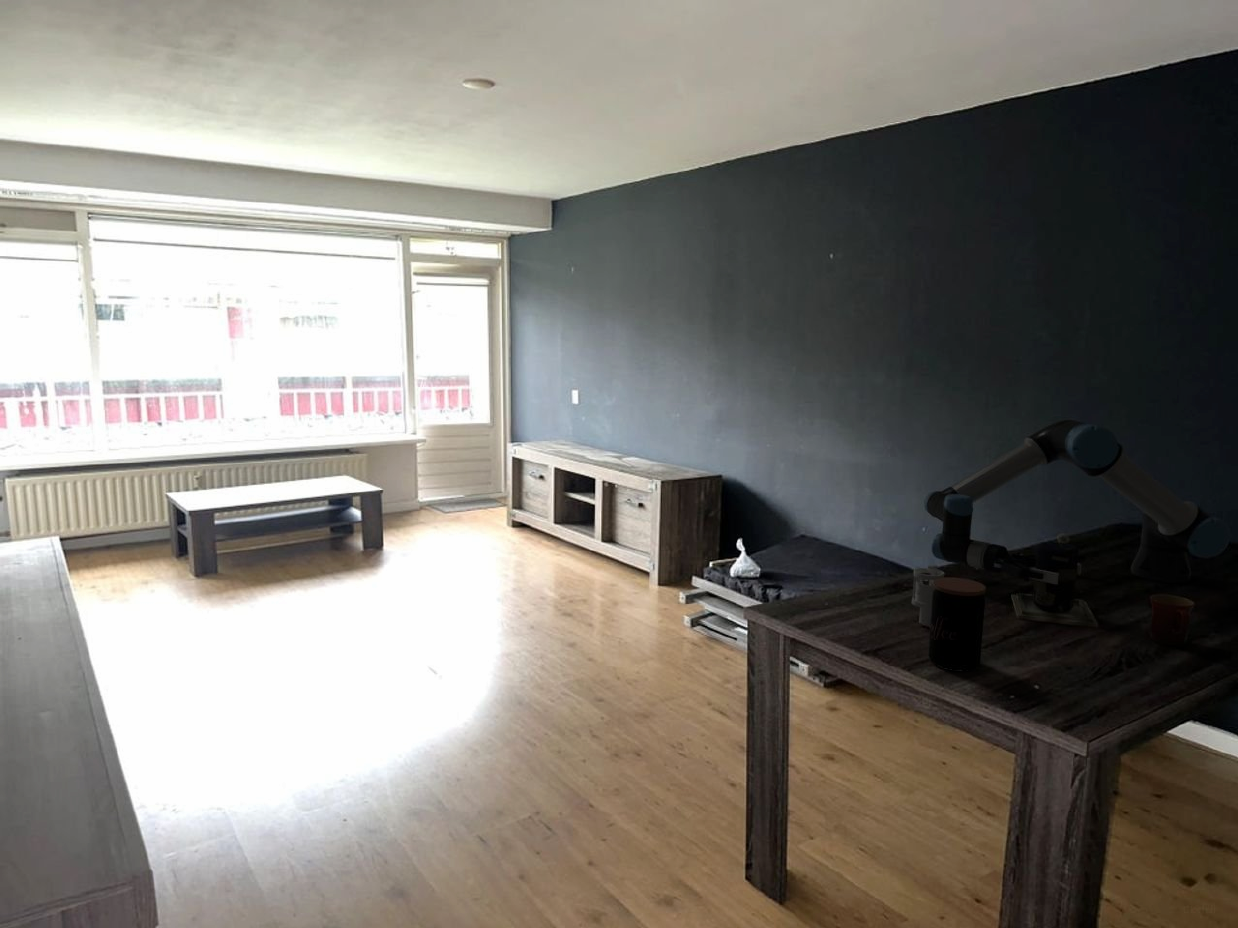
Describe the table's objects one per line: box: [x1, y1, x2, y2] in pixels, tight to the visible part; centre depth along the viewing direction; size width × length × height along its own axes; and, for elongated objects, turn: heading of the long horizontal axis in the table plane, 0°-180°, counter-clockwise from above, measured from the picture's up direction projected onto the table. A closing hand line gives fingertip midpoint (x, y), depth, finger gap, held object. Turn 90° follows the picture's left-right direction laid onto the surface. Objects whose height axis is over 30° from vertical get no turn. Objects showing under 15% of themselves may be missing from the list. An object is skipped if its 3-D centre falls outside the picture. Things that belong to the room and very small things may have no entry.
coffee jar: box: [927, 576, 987, 672], centre depth 179 cm, size 11×11×18 cm
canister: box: [1032, 540, 1079, 612], centre depth 212 cm, size 10×10×18 cm
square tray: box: [1011, 592, 1099, 629], centre depth 214 cm, size 18×18×2 cm
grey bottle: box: [911, 564, 945, 626], centre depth 202 cm, size 7×7×15 cm
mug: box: [1149, 593, 1196, 647], centre depth 191 cm, size 12×9×10 cm
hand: (1069, 574), depth 210 cm, fingers open, 13 cm apart
